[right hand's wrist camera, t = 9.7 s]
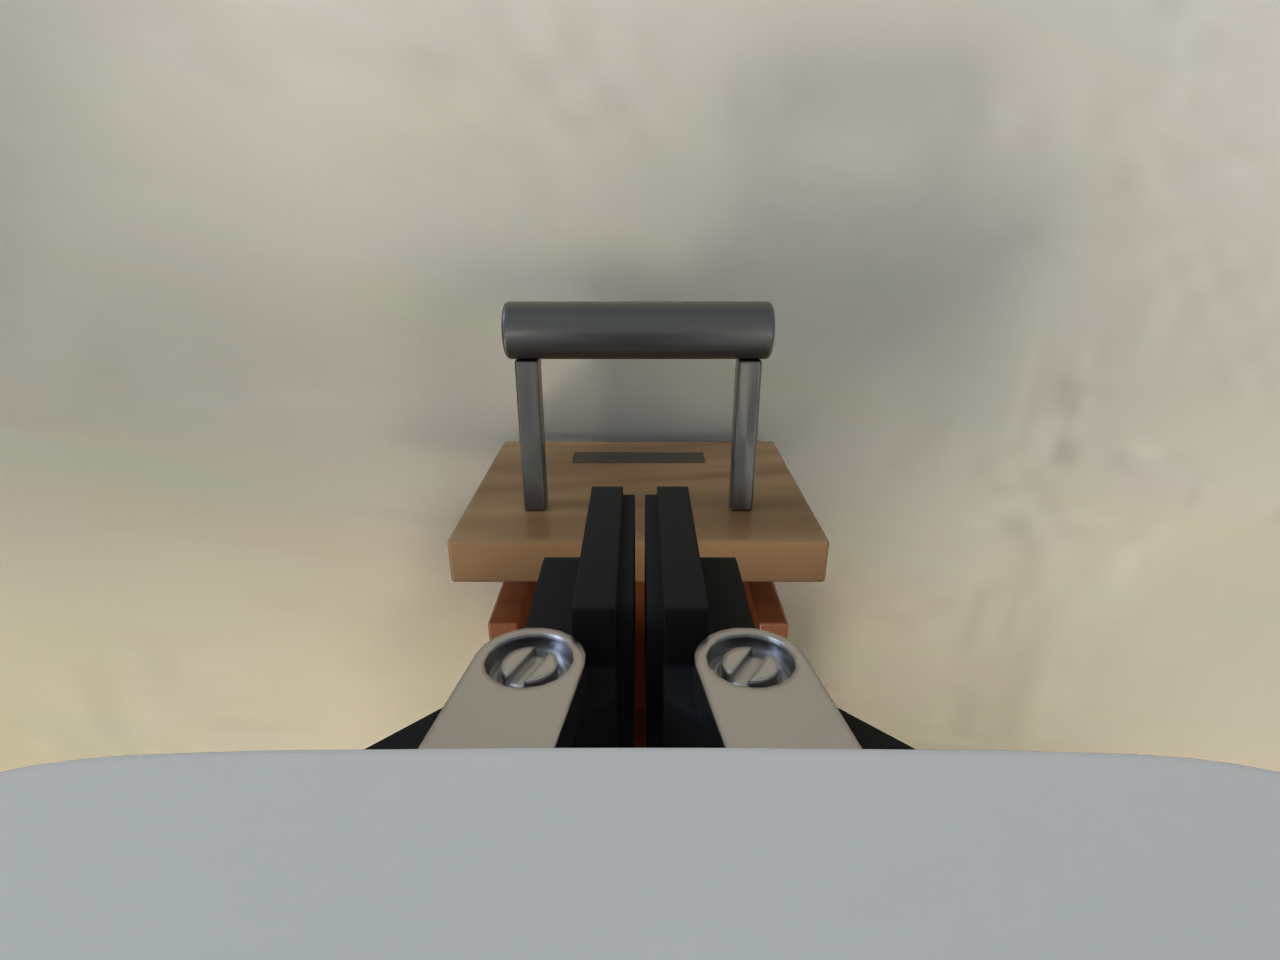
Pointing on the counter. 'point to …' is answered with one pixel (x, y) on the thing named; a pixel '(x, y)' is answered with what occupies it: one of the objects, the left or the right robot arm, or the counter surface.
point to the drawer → (637, 465)
